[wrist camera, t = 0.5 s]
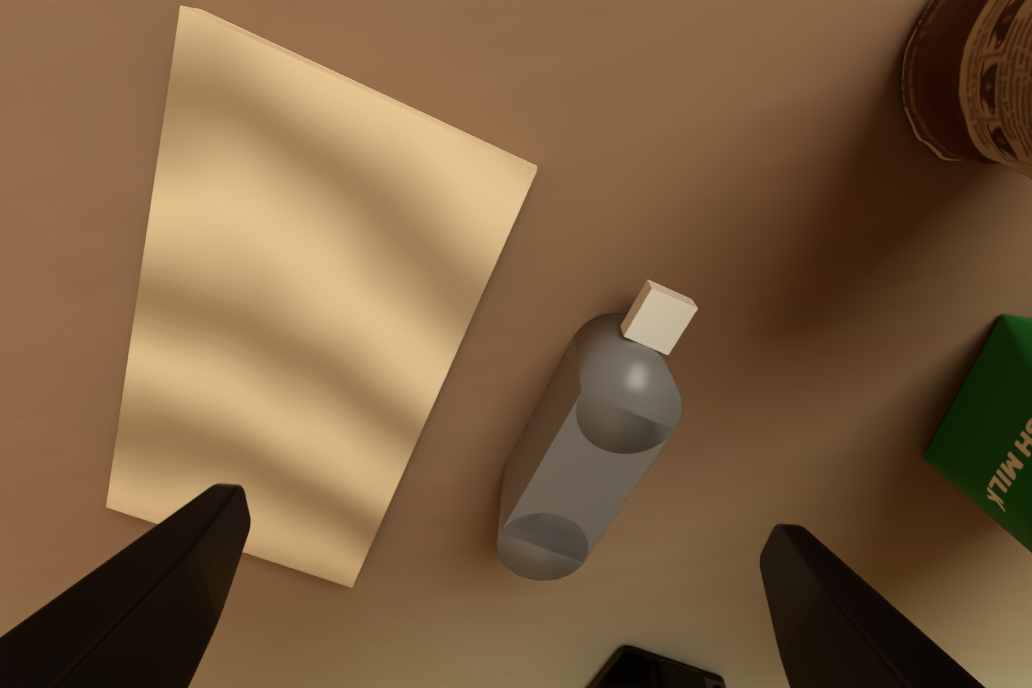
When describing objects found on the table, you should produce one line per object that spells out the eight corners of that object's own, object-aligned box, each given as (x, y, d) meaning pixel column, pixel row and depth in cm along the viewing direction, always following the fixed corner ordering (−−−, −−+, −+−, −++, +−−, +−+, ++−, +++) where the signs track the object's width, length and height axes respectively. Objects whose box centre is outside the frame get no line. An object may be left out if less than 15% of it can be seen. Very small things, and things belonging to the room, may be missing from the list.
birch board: (358, 568, 29) (352, 588, 28) (123, 489, 27) (105, 507, 26) (537, 165, 20) (536, 170, 19) (201, 9, 18) (180, 5, 17)
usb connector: (560, 515, 27) (563, 591, 23) (491, 489, 27) (482, 563, 23) (700, 291, 22) (735, 340, 18) (618, 254, 21) (636, 296, 18)
